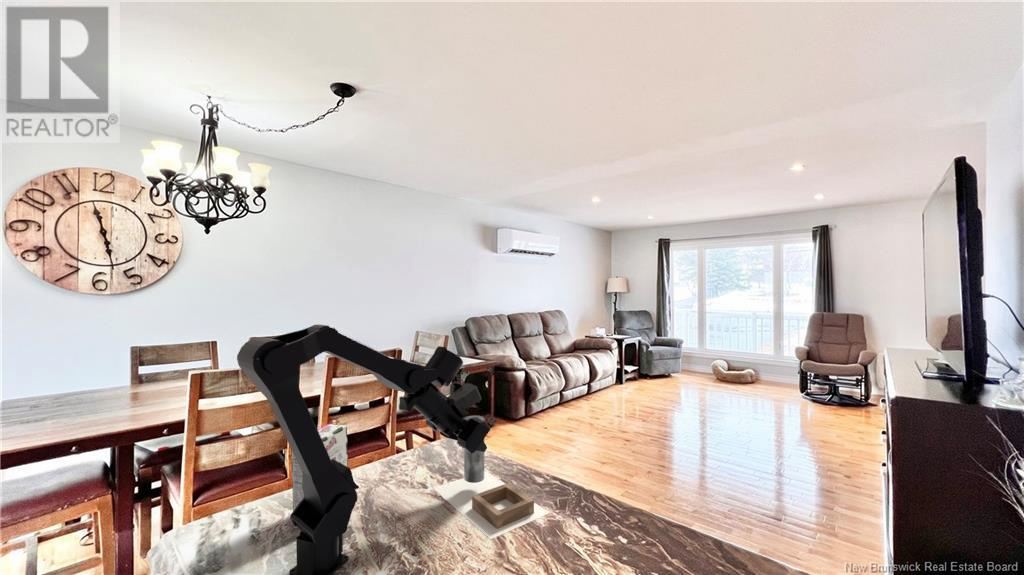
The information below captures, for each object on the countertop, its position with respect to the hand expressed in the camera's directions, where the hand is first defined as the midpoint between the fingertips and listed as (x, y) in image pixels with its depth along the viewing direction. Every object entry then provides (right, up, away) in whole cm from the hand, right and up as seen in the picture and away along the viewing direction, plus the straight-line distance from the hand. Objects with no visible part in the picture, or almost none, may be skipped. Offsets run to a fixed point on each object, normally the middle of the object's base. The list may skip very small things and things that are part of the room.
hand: (479, 446), depth 91 cm
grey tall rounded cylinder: (-1, -7, -1) cm, 7 cm away
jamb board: (+2, -10, -5) cm, 12 cm away
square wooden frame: (+5, -9, -9) cm, 14 cm away
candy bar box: (-31, -11, -9) cm, 34 cm away
